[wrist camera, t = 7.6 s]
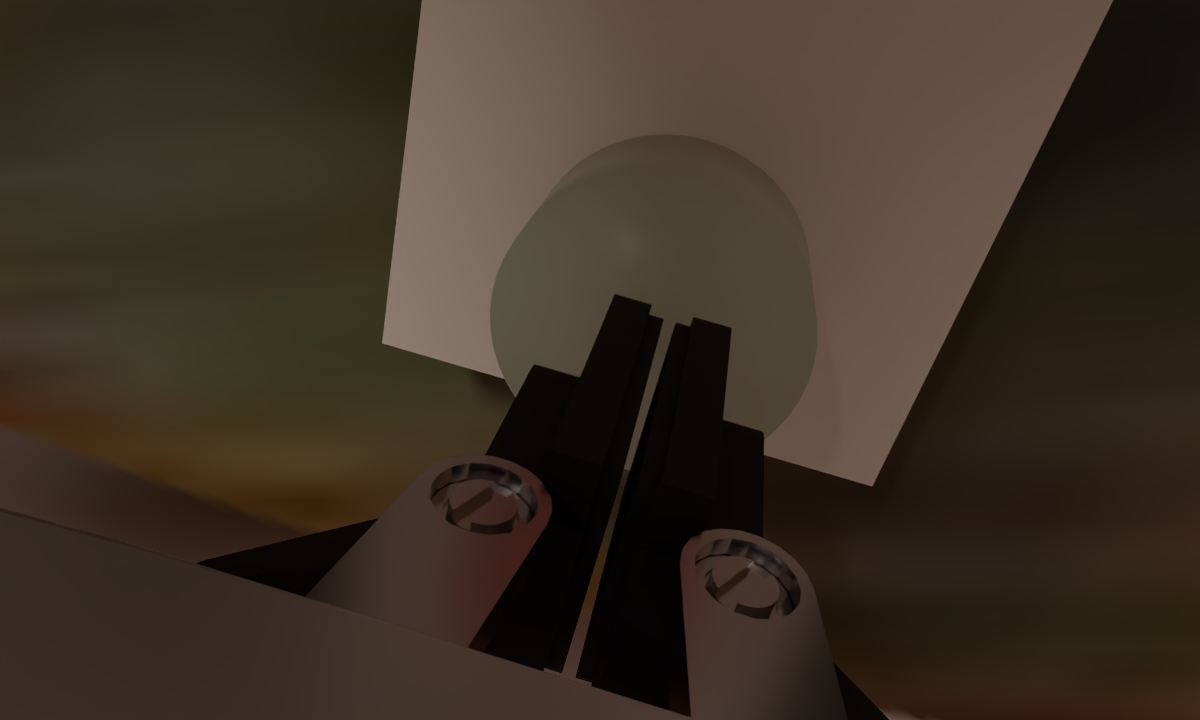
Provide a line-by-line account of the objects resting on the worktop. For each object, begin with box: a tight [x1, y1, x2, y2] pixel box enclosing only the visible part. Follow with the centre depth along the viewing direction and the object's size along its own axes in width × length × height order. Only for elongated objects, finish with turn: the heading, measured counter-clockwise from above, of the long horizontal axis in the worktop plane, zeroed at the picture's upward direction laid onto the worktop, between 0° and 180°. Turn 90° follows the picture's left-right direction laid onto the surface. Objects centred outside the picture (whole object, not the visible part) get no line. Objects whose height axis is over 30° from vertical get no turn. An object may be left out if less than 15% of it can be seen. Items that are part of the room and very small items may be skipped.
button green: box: [490, 134, 817, 471], centre depth 14 cm, size 5×5×2 cm
